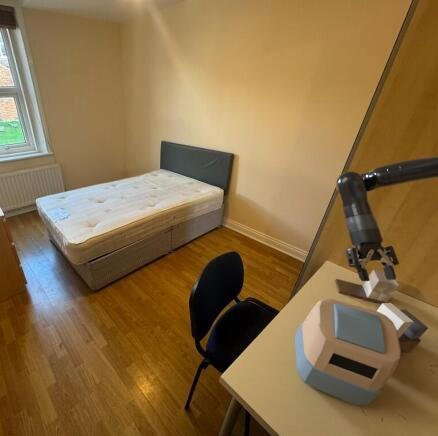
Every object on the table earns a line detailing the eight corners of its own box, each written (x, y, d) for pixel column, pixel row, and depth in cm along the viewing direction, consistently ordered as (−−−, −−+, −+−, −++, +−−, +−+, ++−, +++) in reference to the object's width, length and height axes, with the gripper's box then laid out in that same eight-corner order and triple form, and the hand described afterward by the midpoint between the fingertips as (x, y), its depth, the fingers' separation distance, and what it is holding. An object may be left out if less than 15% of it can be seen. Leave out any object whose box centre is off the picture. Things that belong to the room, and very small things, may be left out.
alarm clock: (293, 385, 64) (324, 334, 53) (291, 334, 77) (315, 285, 66) (369, 417, 58) (423, 368, 46) (352, 356, 71) (391, 305, 59)
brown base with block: (378, 292, 93) (391, 273, 87) (385, 305, 87) (399, 286, 82) (335, 280, 98) (345, 262, 93) (338, 292, 92) (349, 274, 87)
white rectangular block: (376, 321, 74) (390, 302, 70) (396, 340, 69) (413, 321, 64) (368, 322, 74) (382, 303, 70) (387, 341, 69) (404, 322, 64)
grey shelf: (387, 330, 78) (405, 307, 72) (410, 352, 72) (432, 329, 66) (337, 333, 77) (352, 311, 72) (356, 356, 71) (374, 333, 65)
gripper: (352, 228, 72) (368, 281, 68) (395, 226, 73) (413, 279, 69) (333, 233, 79) (346, 281, 75) (372, 231, 80) (387, 279, 76)
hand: (378, 280), depth 72 cm, fingers open, 8 cm apart
